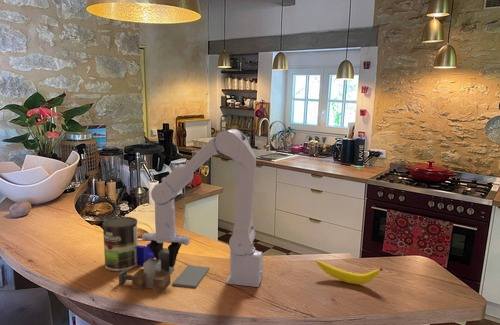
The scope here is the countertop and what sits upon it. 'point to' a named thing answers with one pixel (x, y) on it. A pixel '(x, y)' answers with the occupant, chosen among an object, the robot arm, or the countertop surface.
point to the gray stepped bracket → (165, 260)
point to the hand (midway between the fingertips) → (166, 264)
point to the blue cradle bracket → (144, 254)
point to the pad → (191, 276)
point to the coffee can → (120, 243)
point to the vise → (159, 280)
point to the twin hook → (151, 271)
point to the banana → (348, 274)
